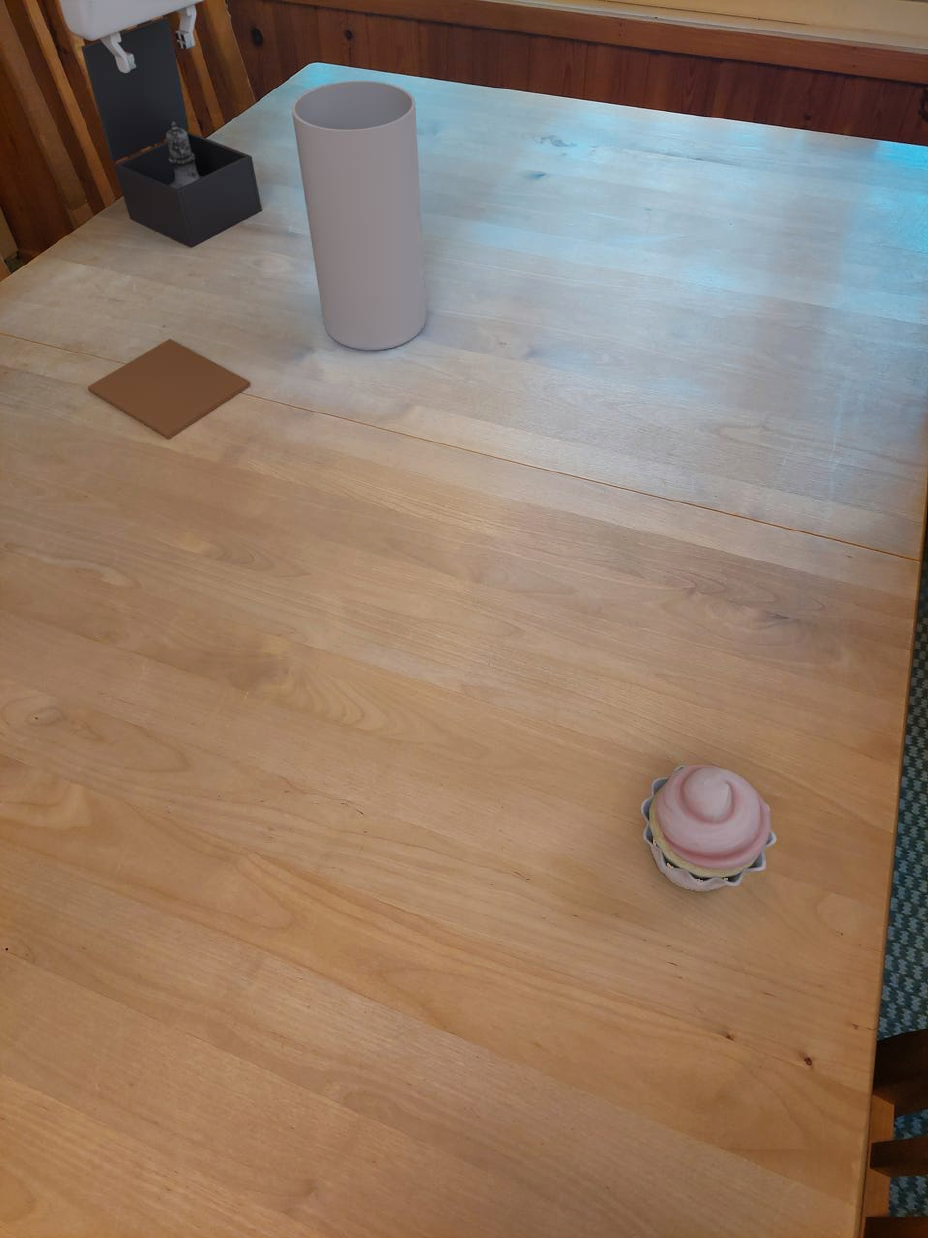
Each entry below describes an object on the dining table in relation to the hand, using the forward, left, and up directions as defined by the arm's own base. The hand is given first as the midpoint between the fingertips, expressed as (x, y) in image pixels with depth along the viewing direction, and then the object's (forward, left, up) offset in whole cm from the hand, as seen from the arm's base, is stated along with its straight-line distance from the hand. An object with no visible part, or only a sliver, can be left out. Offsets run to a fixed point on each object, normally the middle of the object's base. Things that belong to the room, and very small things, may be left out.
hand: (158, 58), depth 113 cm
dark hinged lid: (-6, 0, -5) cm, 8 cm away
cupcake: (+104, -42, -20) cm, 114 cm away
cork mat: (+29, -29, -20) cm, 46 cm away
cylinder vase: (+39, -5, -20) cm, 44 cm away
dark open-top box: (0, 0, -20) cm, 20 cm away
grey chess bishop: (0, 0, -20) cm, 20 cm away
